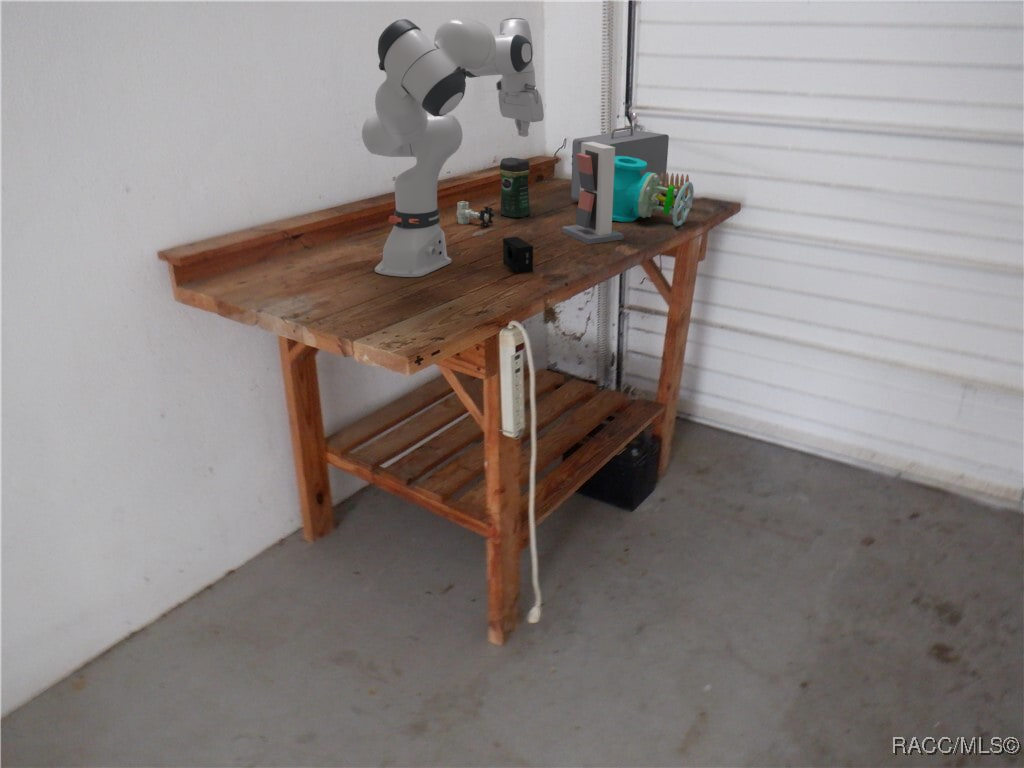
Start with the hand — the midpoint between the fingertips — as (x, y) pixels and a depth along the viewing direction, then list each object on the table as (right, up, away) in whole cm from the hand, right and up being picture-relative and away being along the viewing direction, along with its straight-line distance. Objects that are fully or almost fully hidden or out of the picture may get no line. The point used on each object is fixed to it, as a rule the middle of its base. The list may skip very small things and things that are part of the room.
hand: (523, 136), depth 226 cm
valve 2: (+39, -17, +36) cm, 56 cm away
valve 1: (-16, -18, +34) cm, 42 cm away
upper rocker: (+19, -11, +13) cm, 26 cm away
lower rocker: (+18, -22, +17) cm, 33 cm away
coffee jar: (-2, -13, +45) cm, 46 cm away
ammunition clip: (+51, -9, +51) cm, 73 cm away
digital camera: (-2, -38, -8) cm, 39 cm away
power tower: (+20, -24, +20) cm, 37 cm away
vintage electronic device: (+34, -4, +64) cm, 72 cm away
